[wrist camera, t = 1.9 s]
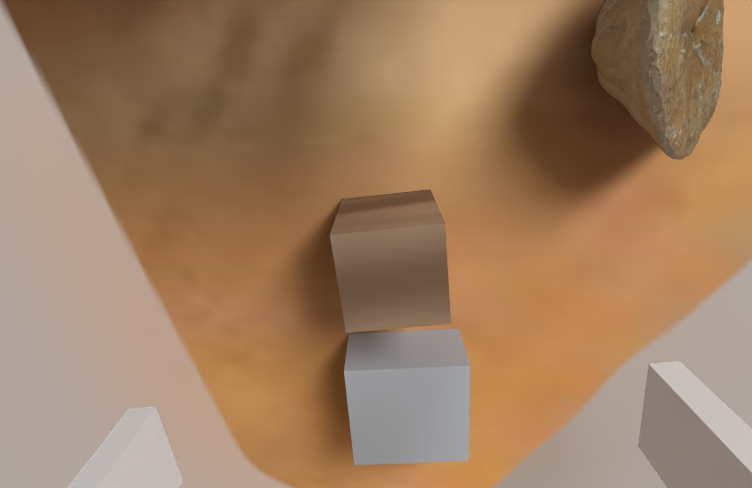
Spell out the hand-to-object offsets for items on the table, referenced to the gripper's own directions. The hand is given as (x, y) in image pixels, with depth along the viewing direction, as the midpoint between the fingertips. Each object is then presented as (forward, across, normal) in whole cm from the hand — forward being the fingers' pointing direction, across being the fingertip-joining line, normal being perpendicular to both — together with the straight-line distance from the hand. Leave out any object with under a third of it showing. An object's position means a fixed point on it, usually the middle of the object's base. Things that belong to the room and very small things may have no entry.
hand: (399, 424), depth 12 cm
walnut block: (+14, 0, 0) cm, 14 cm away
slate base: (+15, 0, -10) cm, 18 cm away
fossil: (+15, +14, +9) cm, 22 cm away
